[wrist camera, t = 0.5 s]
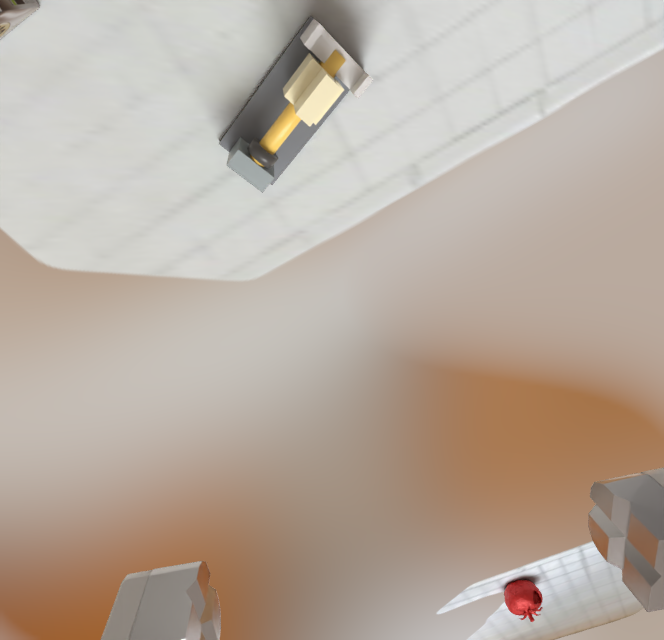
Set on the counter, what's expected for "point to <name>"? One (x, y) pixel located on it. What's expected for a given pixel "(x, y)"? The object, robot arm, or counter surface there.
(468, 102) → the counter surface
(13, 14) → the coffee box
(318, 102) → the notched stepped block
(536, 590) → the pomegranate
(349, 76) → the linear slide clamp
